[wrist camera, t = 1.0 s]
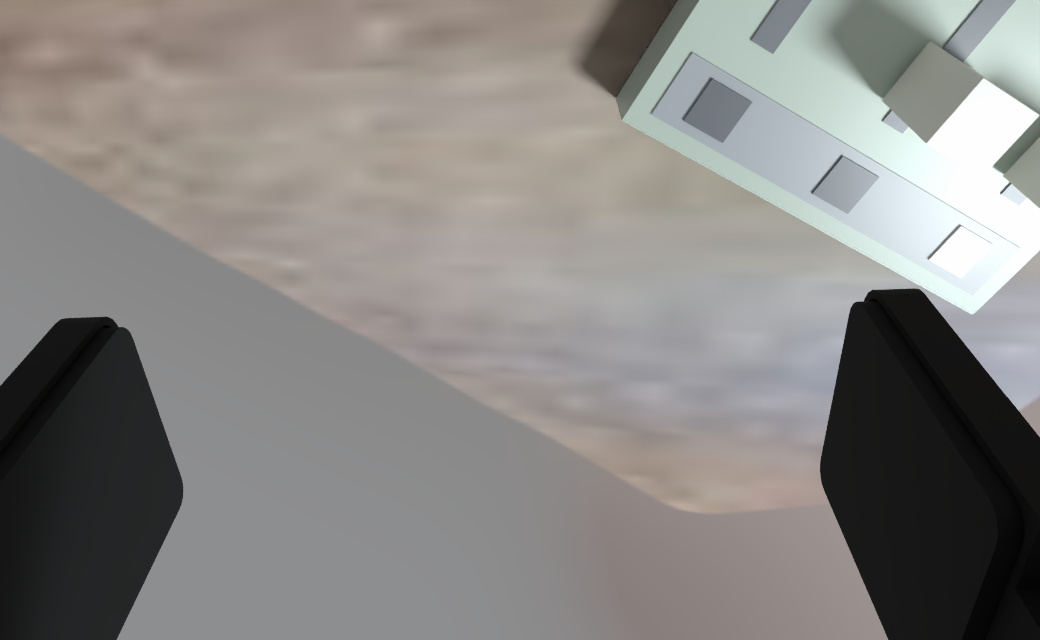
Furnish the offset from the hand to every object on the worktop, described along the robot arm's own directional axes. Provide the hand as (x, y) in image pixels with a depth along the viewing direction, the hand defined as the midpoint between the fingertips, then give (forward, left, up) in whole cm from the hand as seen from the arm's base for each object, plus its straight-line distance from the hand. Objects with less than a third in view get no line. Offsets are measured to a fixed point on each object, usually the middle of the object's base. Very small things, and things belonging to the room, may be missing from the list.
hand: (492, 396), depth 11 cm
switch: (-4, +19, -28) cm, 34 cm away
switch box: (-5, +19, -31) cm, 37 cm away
